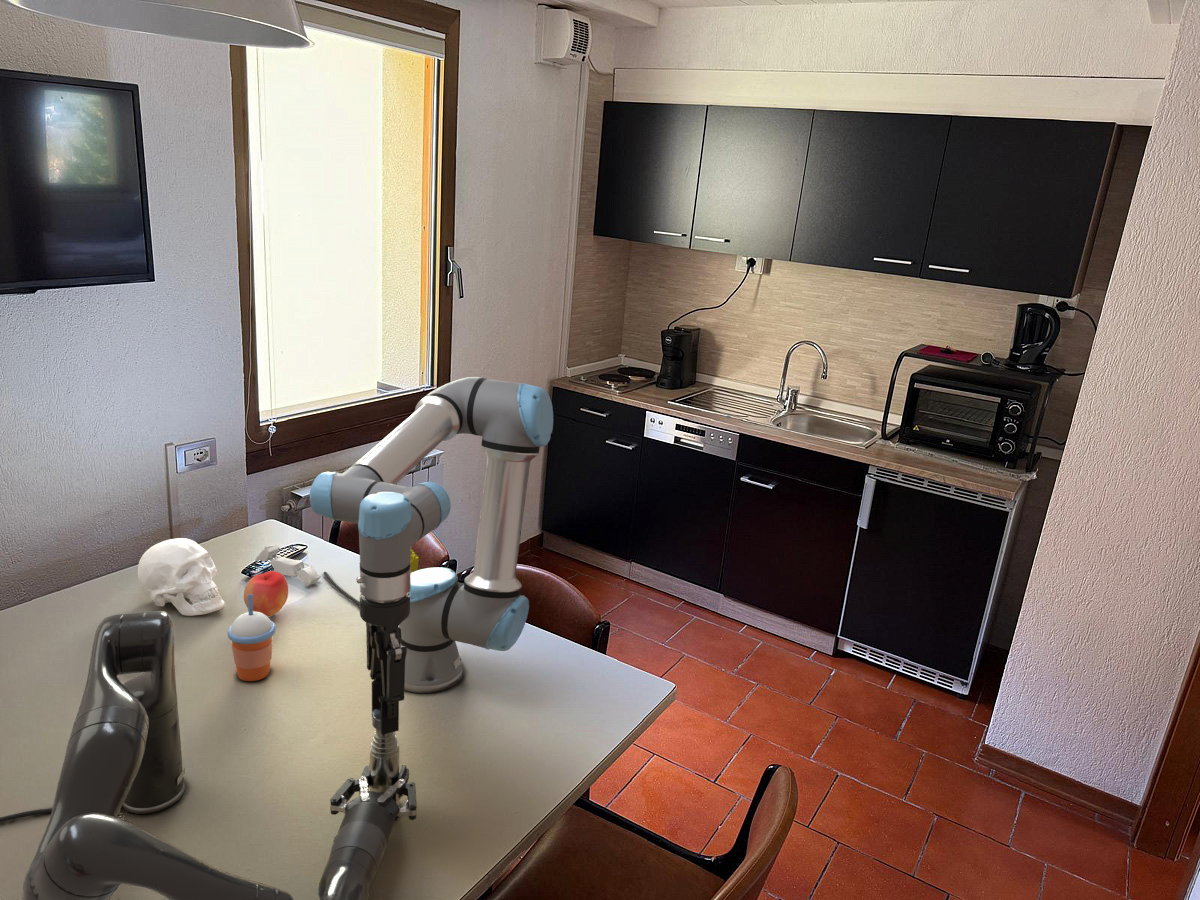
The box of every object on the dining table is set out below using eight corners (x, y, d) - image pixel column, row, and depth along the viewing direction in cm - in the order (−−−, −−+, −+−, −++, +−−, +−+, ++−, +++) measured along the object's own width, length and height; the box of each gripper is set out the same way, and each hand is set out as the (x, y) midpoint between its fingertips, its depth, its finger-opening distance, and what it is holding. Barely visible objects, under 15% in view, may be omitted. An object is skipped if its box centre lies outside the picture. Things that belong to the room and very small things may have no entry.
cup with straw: (261, 689, 172) (257, 609, 167) (220, 681, 174) (215, 601, 168) (285, 666, 181) (283, 589, 175) (246, 658, 182) (243, 582, 177)
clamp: (253, 565, 223) (254, 542, 221) (265, 560, 226) (266, 537, 224) (309, 593, 215) (310, 569, 213) (320, 588, 218) (321, 564, 216)
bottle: (401, 802, 145) (402, 712, 140) (394, 822, 140) (395, 729, 135) (374, 800, 145) (374, 709, 140) (366, 819, 140) (365, 726, 135)
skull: (204, 625, 194) (201, 560, 189) (125, 605, 199) (121, 542, 195) (243, 602, 206) (242, 541, 202) (168, 584, 212) (165, 524, 207)
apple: (273, 600, 207) (272, 562, 204) (297, 613, 202) (296, 575, 199) (237, 614, 200) (234, 575, 197) (261, 628, 194) (259, 588, 191)
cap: (366, 725, 137) (366, 715, 136) (383, 712, 140) (383, 702, 140) (387, 733, 135) (387, 723, 135) (403, 720, 139) (403, 710, 138)
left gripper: (313, 860, 128) (346, 784, 144) (408, 866, 128) (430, 789, 145) (312, 818, 126) (345, 746, 142) (409, 825, 126) (431, 752, 142)
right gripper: (345, 573, 136) (347, 700, 143) (377, 623, 122) (378, 760, 129) (391, 566, 140) (391, 690, 147) (428, 613, 126) (425, 747, 133)
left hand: (388, 768), depth 143 cm, fingers closed on bottle, 4 cm apart
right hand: (385, 722), depth 138 cm, fingers closed on cap, 4 cm apart
